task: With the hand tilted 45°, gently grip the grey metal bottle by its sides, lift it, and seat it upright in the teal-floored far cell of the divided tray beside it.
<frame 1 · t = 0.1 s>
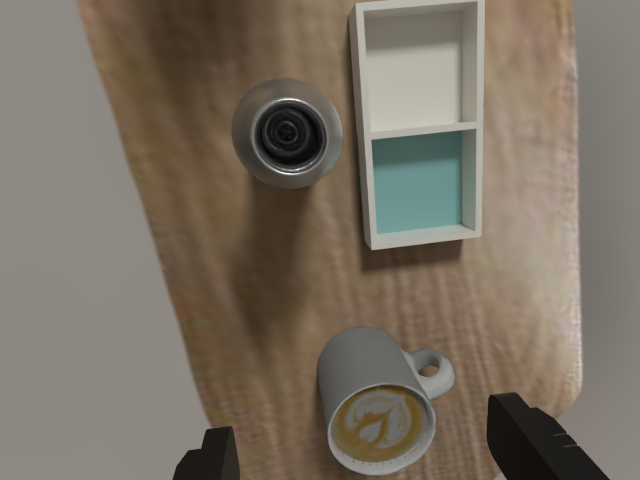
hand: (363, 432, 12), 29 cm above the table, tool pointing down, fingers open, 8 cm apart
grey metal bottle: (286, 132, 38), on the table
divided tray: (411, 130, 39), on the table
coffee mug: (375, 361, 46), on the table
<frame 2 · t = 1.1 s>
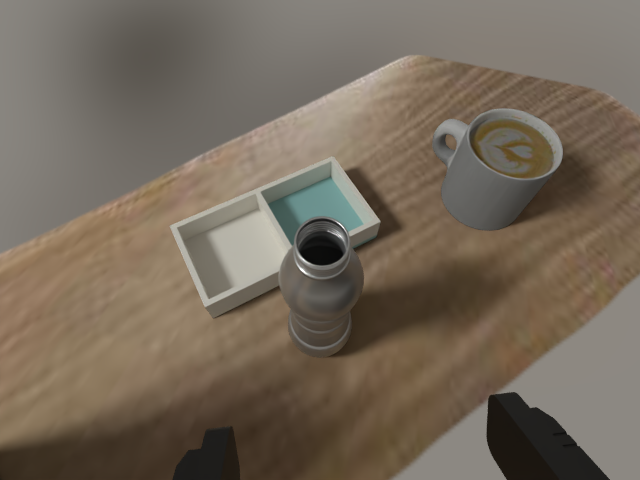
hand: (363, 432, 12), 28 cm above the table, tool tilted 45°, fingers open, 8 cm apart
grey metal bottle: (319, 331, 43), on the table
divided tray: (278, 239, 48), on the table
coffee mug: (470, 188, 52), on the table
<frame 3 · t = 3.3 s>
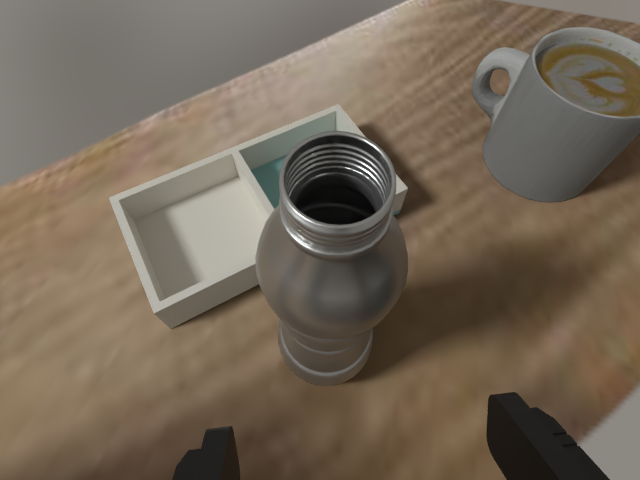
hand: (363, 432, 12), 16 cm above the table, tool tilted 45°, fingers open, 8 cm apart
grey metal bottle: (324, 344, 30), on the table
divided tray: (265, 217, 35), on the table
coffee mug: (520, 148, 39), on the table
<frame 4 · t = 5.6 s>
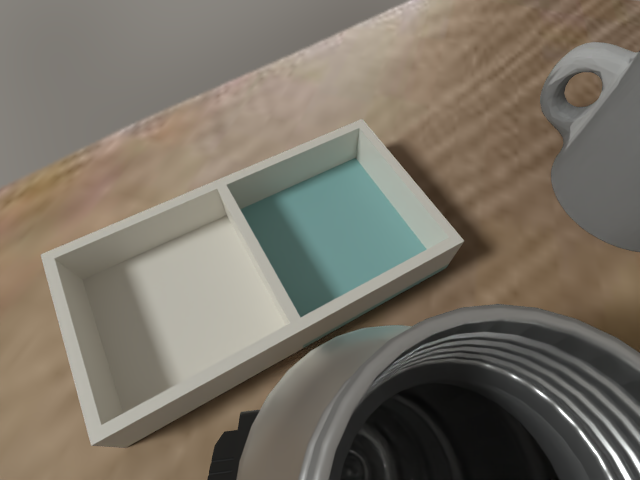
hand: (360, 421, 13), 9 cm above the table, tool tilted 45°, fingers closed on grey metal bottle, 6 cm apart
grey metal bottle: (348, 473, 21), on the table, touching gripper
divided tray: (262, 274, 26), on the table
coffee mug: (600, 176, 30), on the table
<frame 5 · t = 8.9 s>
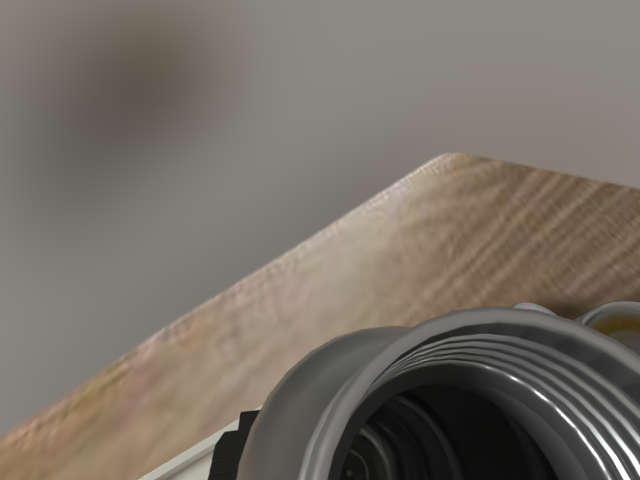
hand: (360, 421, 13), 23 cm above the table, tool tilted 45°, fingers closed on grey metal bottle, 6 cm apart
grey metal bottle: (348, 473, 21), point 14 cm above the table, touching gripper
coffee mug: (550, 377, 36), on the table
when the fingers open (12 cm above the table, at t = 12.4 s): grey metal bottle drops 2 cm, resting on divided tray.
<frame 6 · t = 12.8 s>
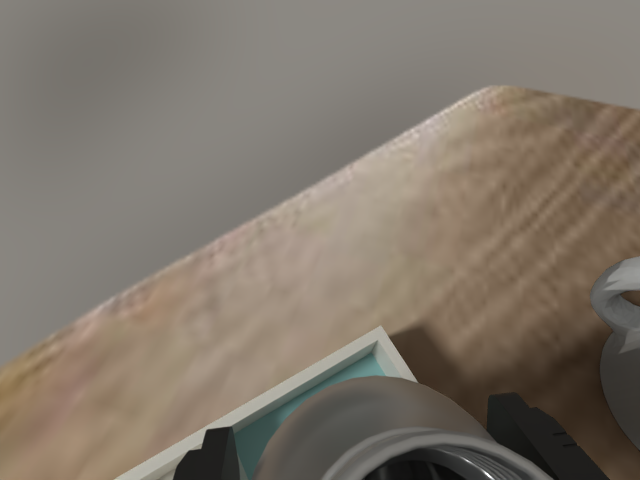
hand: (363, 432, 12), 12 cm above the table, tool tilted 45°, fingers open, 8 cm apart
grey metal bottle: (346, 477, 22), resting on divided tray
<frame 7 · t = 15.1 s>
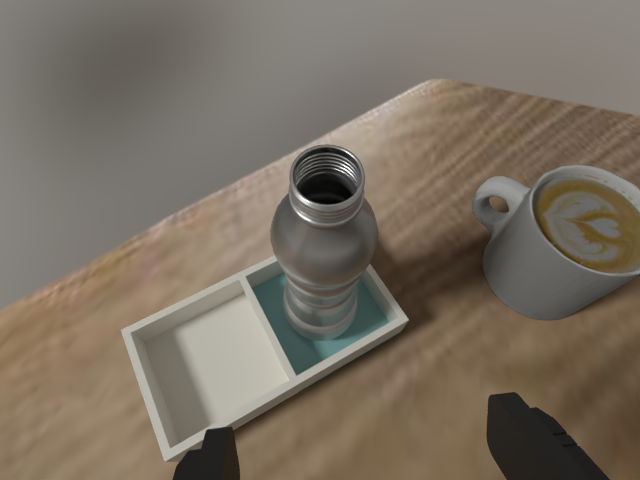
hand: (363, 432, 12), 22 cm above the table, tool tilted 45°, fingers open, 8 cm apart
grey metal bottle: (319, 311, 37), resting on divided tray
divided tray: (270, 336, 36), on the table
coffee mug: (519, 258, 40), on the table
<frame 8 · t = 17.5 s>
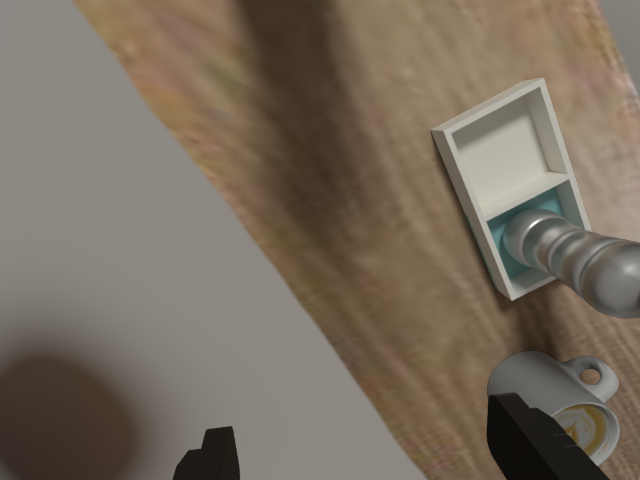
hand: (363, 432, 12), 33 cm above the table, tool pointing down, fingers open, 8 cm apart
grey metal bottle: (522, 231, 47), resting on divided tray
divided tray: (508, 192, 46), on the table
coffee mug: (534, 375, 53), on the table
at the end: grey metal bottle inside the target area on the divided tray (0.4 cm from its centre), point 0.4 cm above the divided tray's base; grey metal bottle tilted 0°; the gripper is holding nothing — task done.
